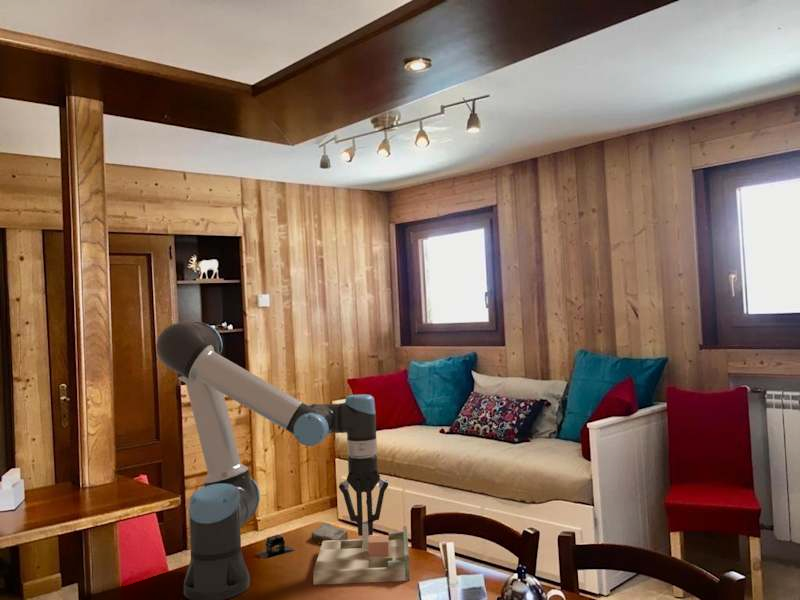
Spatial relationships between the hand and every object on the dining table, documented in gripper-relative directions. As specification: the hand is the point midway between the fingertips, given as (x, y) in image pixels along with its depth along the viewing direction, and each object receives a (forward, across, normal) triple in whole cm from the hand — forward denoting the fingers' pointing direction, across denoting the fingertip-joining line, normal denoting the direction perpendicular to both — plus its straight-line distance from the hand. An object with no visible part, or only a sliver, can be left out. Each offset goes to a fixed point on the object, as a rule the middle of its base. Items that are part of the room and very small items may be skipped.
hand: (366, 547), depth 168 cm
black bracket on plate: (+5, -26, +12) cm, 29 cm away
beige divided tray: (+4, -1, 0) cm, 4 cm away
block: (+1, +3, 0) cm, 3 cm away
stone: (+5, -12, +21) cm, 24 cm away
